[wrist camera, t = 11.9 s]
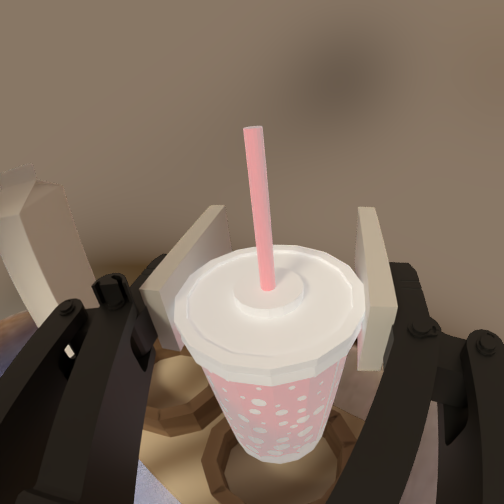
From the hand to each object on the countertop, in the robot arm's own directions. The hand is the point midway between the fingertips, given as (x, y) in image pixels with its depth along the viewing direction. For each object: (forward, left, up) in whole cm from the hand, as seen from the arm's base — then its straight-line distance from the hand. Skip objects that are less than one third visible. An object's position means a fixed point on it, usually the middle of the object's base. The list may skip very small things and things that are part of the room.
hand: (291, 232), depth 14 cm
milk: (-22, -9, -18) cm, 29 cm away
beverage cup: (+2, -5, -9) cm, 10 cm away
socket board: (-4, -5, -17) cm, 18 cm away
